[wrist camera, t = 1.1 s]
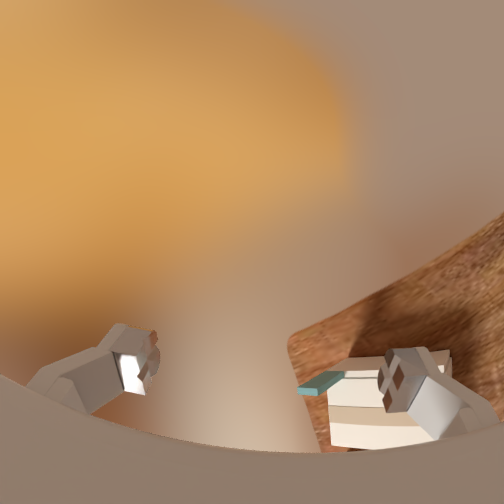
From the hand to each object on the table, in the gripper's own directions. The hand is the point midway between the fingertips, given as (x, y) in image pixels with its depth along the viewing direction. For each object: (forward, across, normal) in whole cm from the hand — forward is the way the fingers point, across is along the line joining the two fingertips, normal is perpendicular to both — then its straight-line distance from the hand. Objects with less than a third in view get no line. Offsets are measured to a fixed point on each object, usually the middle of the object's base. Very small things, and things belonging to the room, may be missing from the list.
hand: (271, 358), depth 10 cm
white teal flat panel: (+26, -21, +22) cm, 39 cm away
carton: (+23, -22, +27) cm, 42 cm away
